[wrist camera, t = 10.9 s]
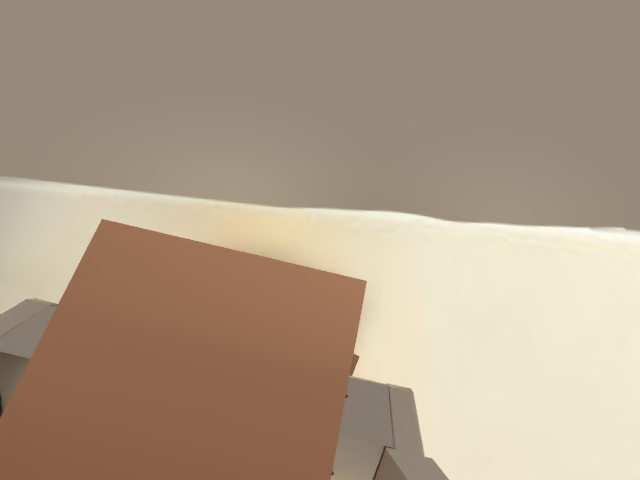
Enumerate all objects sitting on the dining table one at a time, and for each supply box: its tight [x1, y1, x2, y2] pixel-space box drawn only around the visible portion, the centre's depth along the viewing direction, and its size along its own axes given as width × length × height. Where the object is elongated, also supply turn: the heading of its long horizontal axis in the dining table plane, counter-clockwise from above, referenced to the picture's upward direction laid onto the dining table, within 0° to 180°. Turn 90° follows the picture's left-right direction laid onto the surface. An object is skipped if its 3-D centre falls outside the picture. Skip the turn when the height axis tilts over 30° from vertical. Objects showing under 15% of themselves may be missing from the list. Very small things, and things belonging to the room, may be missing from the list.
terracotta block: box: [0, 219, 367, 480], centre depth 10 cm, size 5×5×9 cm
